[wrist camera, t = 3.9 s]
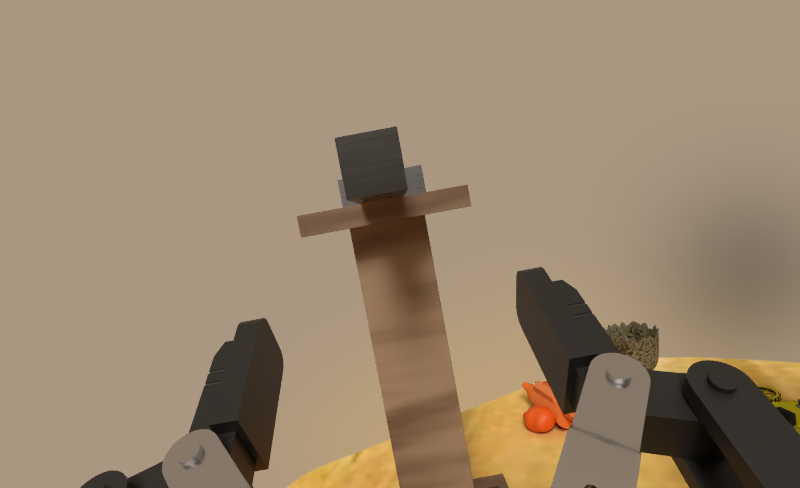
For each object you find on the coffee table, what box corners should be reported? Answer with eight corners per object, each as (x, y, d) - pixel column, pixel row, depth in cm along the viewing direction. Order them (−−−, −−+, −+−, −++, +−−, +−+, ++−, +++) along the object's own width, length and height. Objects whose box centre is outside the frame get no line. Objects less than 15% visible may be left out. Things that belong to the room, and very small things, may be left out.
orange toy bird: (595, 396, 50) (538, 365, 62) (545, 433, 48) (497, 394, 60) (613, 431, 51) (553, 393, 62) (564, 468, 49) (513, 423, 61)
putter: (458, 179, 20) (448, 116, 20) (295, 209, 20) (282, 147, 20) (423, 198, 44) (418, 169, 44) (348, 212, 44) (342, 183, 44)
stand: (553, 606, 32) (481, 182, 29) (369, 641, 32) (282, 218, 29) (504, 486, 46) (453, 192, 43) (376, 510, 46) (318, 217, 43)
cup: (598, 378, 66) (590, 328, 66) (640, 366, 68) (632, 318, 67) (632, 397, 59) (624, 341, 58) (678, 384, 60) (670, 329, 60)
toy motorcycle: (882, 408, 41) (830, 431, 40) (887, 446, 42) (836, 470, 40) (753, 370, 53) (709, 386, 51) (757, 399, 53) (713, 416, 52)
